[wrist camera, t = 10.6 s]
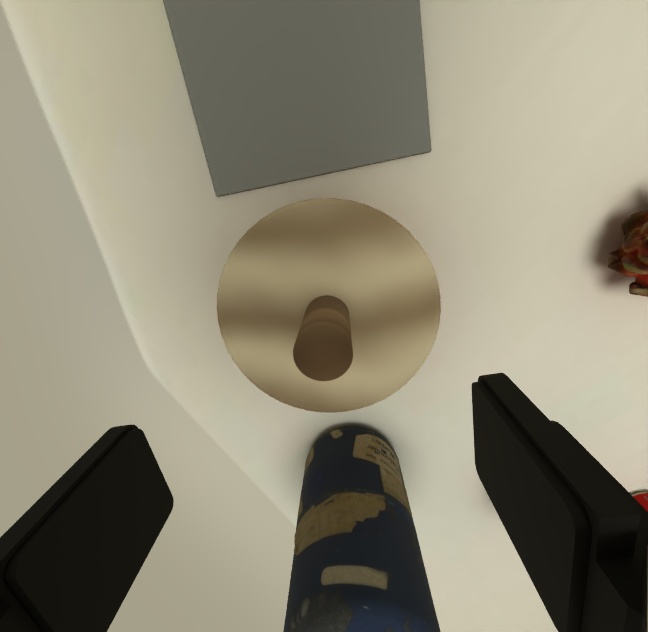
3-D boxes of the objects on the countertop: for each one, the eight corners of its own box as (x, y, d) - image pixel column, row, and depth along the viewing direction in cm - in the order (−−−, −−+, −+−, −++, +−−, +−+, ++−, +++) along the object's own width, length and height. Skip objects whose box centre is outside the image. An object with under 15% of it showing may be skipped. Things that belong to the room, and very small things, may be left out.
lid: (194, 224, 21) (128, 230, 15) (425, 176, 20) (469, 158, 13) (252, 416, 26) (222, 488, 19) (444, 389, 24) (484, 457, 17)
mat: (145, -73, 21) (141, -80, 21) (404, -153, 20) (406, -161, 19) (218, 196, 26) (216, 196, 26) (429, 151, 25) (431, 150, 24)
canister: (312, 495, 36) (287, 758, 19) (300, 423, 33) (257, 654, 16) (399, 490, 35) (458, 759, 18) (394, 416, 32) (459, 651, 15)
